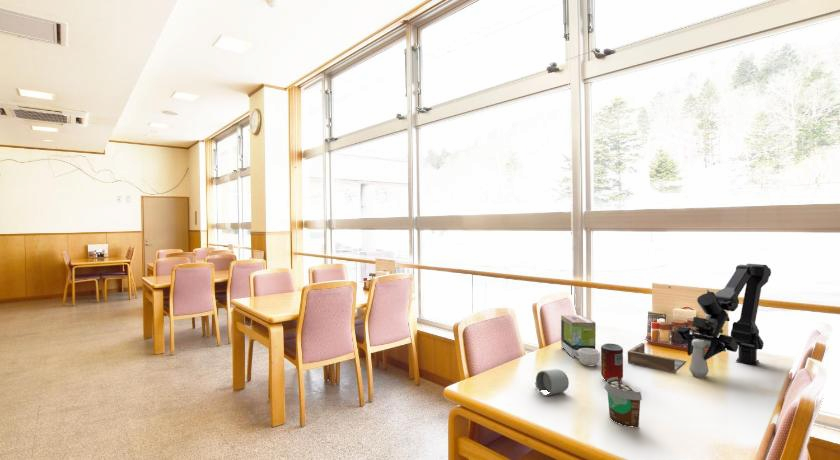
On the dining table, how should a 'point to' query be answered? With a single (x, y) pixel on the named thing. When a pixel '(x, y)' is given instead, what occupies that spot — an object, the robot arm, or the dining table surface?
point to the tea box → (577, 333)
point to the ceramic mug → (552, 381)
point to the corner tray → (652, 359)
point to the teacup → (588, 356)
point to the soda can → (612, 361)
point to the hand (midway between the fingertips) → (696, 357)
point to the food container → (623, 403)
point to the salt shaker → (698, 359)
